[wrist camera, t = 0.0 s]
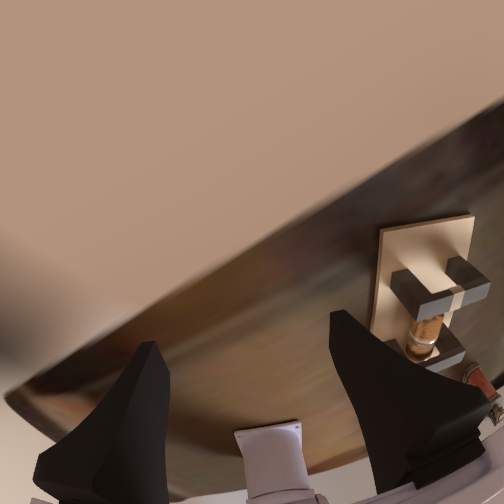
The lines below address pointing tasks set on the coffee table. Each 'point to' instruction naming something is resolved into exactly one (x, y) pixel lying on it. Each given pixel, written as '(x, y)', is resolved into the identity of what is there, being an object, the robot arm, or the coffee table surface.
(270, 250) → the coffee table surface
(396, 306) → the board
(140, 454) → the robot arm
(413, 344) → the tube
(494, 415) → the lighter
